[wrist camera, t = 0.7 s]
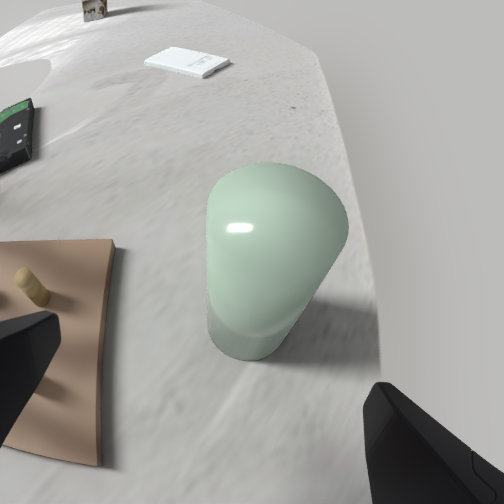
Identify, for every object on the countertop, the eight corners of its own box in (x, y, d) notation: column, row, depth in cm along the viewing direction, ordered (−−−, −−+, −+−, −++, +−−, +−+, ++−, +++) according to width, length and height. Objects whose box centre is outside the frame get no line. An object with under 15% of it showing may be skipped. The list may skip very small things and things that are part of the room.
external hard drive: (173, 53, 51) (229, 65, 49) (144, 67, 47) (202, 81, 44) (173, 45, 50) (230, 57, 47) (143, 59, 45) (202, 73, 43)
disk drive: (34, 162, 32) (35, 109, 38) (27, 145, 30) (30, 95, 36) (-29, 193, 28) (-18, 134, 34) (-38, 179, 26) (-24, 121, 32)
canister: (290, 358, 23) (364, 271, 12) (209, 362, 22) (207, 275, 11) (280, 286, 26) (330, 166, 15) (206, 288, 25) (207, 161, 14)
